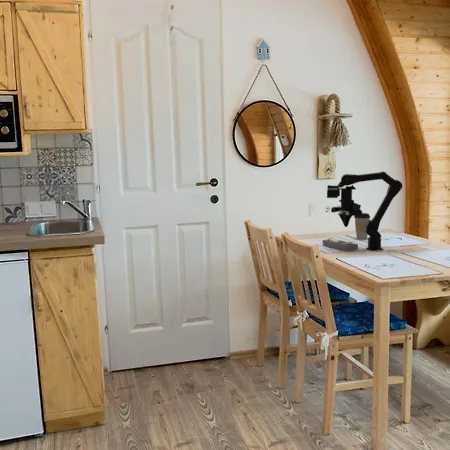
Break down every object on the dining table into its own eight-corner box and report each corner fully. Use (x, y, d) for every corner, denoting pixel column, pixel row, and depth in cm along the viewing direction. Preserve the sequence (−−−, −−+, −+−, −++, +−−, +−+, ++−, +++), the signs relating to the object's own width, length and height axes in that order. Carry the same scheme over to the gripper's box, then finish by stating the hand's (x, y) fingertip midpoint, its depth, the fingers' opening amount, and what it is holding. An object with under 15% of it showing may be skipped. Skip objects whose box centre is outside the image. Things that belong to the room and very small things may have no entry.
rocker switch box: (357, 249, 279) (357, 243, 278) (346, 251, 275) (346, 245, 275) (333, 243, 296) (333, 238, 296) (322, 245, 293) (322, 239, 292)
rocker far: (340, 243, 288) (340, 241, 288) (334, 243, 286) (335, 241, 286) (332, 239, 293) (333, 237, 293) (327, 239, 292) (327, 237, 291)
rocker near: (352, 243, 279) (352, 241, 279) (347, 244, 277) (346, 242, 277) (344, 244, 285) (344, 242, 285) (339, 244, 283) (339, 242, 283)
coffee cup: (366, 240, 304) (366, 215, 302) (350, 239, 310) (351, 214, 308) (372, 238, 312) (372, 213, 309) (357, 236, 317) (357, 212, 315)
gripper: (370, 198, 273) (369, 227, 275) (346, 195, 289) (346, 223, 292) (353, 199, 268) (353, 229, 270) (330, 197, 284) (330, 225, 287)
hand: (346, 226), depth 280 cm, fingers closed
